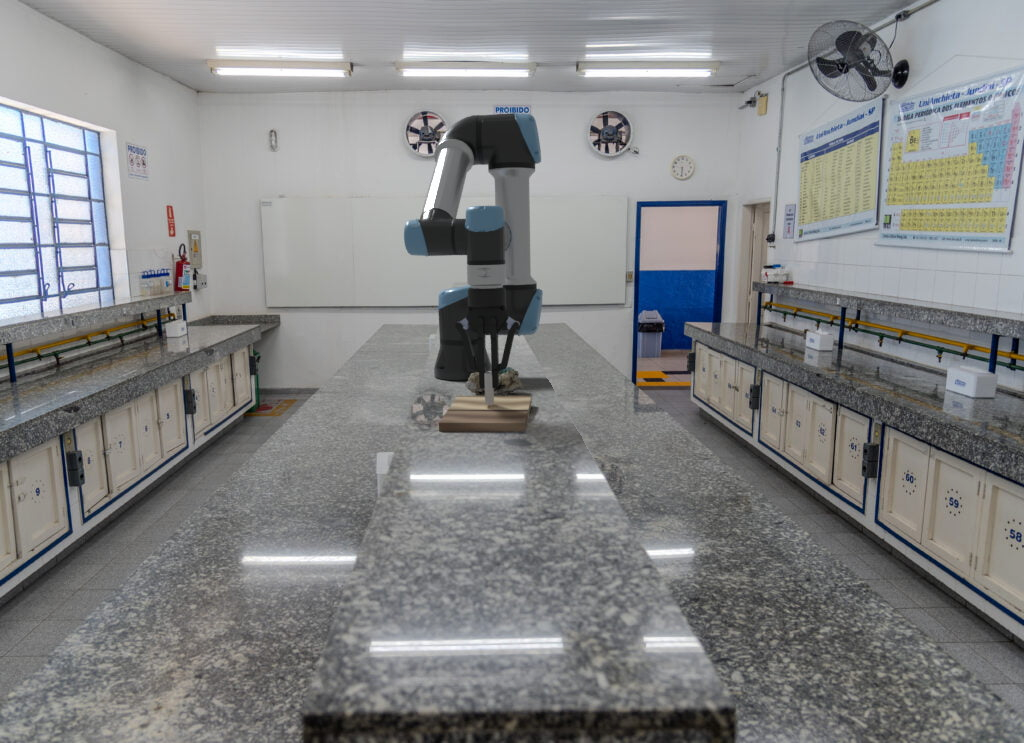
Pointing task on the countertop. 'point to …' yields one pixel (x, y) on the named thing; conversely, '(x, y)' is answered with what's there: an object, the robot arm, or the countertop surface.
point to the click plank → (498, 404)
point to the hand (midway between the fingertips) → (489, 403)
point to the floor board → (484, 420)
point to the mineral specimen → (506, 382)
